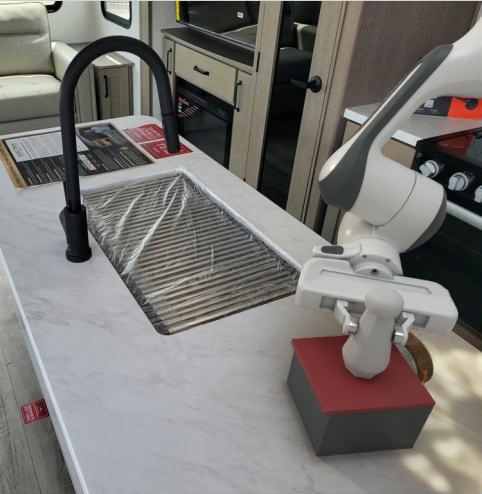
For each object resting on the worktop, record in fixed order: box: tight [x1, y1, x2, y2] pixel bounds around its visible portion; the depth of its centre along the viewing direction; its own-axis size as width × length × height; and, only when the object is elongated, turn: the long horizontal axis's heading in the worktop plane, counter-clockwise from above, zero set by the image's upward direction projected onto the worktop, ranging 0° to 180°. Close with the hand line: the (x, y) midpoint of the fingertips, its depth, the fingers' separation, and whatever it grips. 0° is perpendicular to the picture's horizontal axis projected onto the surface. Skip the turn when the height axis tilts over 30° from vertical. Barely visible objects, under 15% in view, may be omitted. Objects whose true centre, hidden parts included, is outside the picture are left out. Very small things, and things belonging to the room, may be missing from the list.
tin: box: [357, 318, 435, 384], centre depth 76 cm, size 15×3×8 cm, turn 22°
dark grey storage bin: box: [286, 350, 434, 457], centre depth 67 cm, size 14×13×9 cm
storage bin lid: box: [290, 334, 437, 416], centre depth 65 cm, size 14×13×1 cm
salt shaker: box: [342, 286, 404, 379], centre depth 61 cm, size 6×6×13 cm
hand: (374, 335), depth 60 cm, fingers open, 4 cm apart
